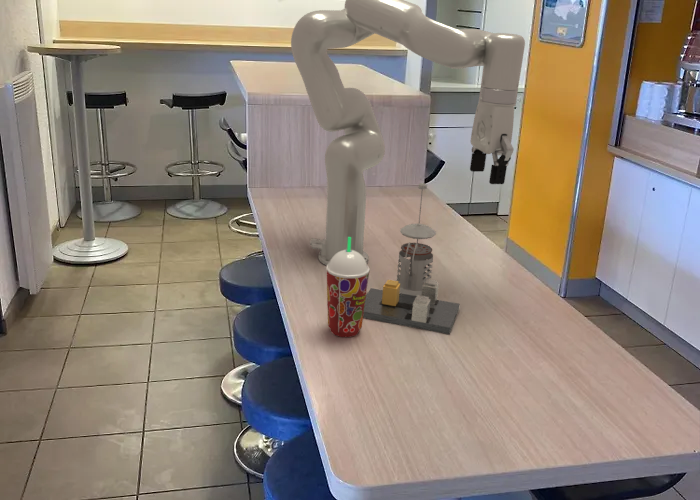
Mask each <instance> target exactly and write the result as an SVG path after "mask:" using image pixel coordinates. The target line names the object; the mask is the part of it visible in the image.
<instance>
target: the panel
mask: <svg viewBox="0 0 700 500" xmlns="http://www.w3.org/2000/svg"><path fill="white" fill-rule="evenodd" d="M438 292H439V282H438V280H435V279H431V278H429V279H426V281H425V282H424V284H423V286H422V294H421V296H420V295H417V296H413V295H408V294H402V293H399V301H398V303H397V305H396V306H391V305H386V304H382V295H383V289H380V288H379V289H377V288H373V287H370V289H369V290H368V292H366V299H365V307H364V314H363V319H366V320H372V321H378V322H382V323H388V324H394V325H398V326H403V327H409V328H413V329H414V328H415V329H420V330H425V331H430V332H431V331H432V332H435V333H442V334H447V335H450V334H451V331H452V329H453V326H454V324H455V323H456V322H455V321H456V319H457V316H458V314H459V311H460V307H461V306H460V303H457V302H453V301H446V300H440V299H438V294H439V293H438Z"/></svg>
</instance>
